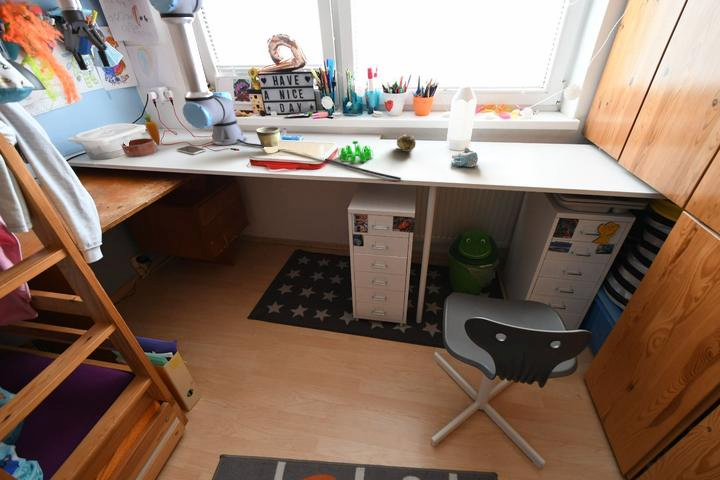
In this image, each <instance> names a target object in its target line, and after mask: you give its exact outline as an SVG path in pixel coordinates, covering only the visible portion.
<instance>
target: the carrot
mask: <svg viewBox="0 0 720 480" xmlns="http://www.w3.org/2000/svg"><path fill="white" fill-rule="evenodd" d="M145 114H146V115H144V116H141V118H142V119H144V120H146V122H145V123H144V127H145V126H146V127H145V129H146V131H147V133H148V135H149V138H151V139H153V140H154V142H155V145H156V146H159V145H160V142H161V137H160V135H161V134H160V130H159V127H158V123H157V122H156V121H154V120H152V116H151V114H149V113H148V112H146V113H145Z"/></svg>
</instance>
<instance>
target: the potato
mask: <svg viewBox="0 0 720 480" xmlns="http://www.w3.org/2000/svg"><path fill="white" fill-rule="evenodd" d="M416 145H417V144H416V139H415V137H414V136H413V135H411V134H403V135H401V136H400V137H398V138H397V140H396V146H397V147H398V148H399V149H400V150H402V151H403V152H410V151H412V150H414V149H415V148H416Z"/></svg>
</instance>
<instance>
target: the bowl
mask: <svg viewBox="0 0 720 480" xmlns="http://www.w3.org/2000/svg"><path fill="white" fill-rule="evenodd" d="M129 141H130V142H129V146H126V145H125V144H124V142H122V143H123V144H122V143H121V144H120V146H121V149H122V150H123V153H124V155H125V156H127V157H133V158H134V157H136V158H137V157H144V156H149V155H151V154H153V153H155V152H156V151H157V150H158V147H157V144H156V143H155V142H154V140H153V139H152V138H151V137H142V138H135V139H131V140H129Z"/></svg>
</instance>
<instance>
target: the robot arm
mask: <svg viewBox="0 0 720 480" xmlns="http://www.w3.org/2000/svg"><path fill="white" fill-rule="evenodd" d="M55 1H56V5H57V6H58V8H59V9H60V13H61V16H62V18H63V20H64V21H65V22H67V23H62V24H61V27H62V30H63V38H64V47H65V48H64V49H65V51H66V52H68V53H71V54H72V56H73V59H74V61H75V62H76V63H77V66H78V68H79V69H80V71H88V70H89V68H88V67H87V64H86V62H85V60H84V57H83V55H82V53H81V52H80V51H79V47H80V41H81V38H85V39H87V40H88V41H89V42H90V43H91V44H92V45H93V46H94V47H95V48H96V49H97V54H98V56H99V59H100V61H101V63H102V67H103V68H111V64H110V62H109V59H108V56H107V53H106V51H108V50H107V49H108V46H107V44H106V43H105V42H104V40H103V39H102V38H101V36H100V34H99V33H98V32H97V30H96V29H95V26H94V25H93V24H92V23H86V22H87V17H86V15H85V12H84V11H83V10H82V8H83V7H82V5H81V3H80V0H55ZM148 2H149V4H150V5H151V6H152V7H153V8H154V9H155V10H156V11H157V12H158V13H159V17H160V19H161V21H163V22H164V23H165V24H166V25H167V28H168V32H169V36H170V39H171V42H172V46H173V50H174V53H175V56H176V60H177V62H178V67H179V70H180V74H181V77H182V80H183V84H184V87H185V91H186V92H185V94H184V95H183V98H184V102H185V103H184V105H183V107H182V114H183V117H184V119H185V121H187V123H189V125H191V126H192V127H193V128H196V129H198V130H199V129H200V130H203V129H208V128H211V127H212V134H211V138H212V142H213V143H212V144H213V145H215V146H216V145H217V146H230V145H236V144H240V143H242V144H244V145H246V146H252V147H253V146H254V147H261V148H262V145H261V143H260V144H259V143H252V142H251V143H250V142H247V141H245V139H246V138H245V134H244V132H243V131H242V129H241V127H240V126H239V124H238V120H237V116H236V111H235V108H234V102H233V98H232V96H231V95H232V94H231V93H230V92H227V91H211V90H209V88H208V84H207V81H206V77H205V76H206V75H205V73H204V68H203V65H202V61H201V56H200V53H199V49H198V46H197V41H196V38H195V33H194V28H193V26H192V23H193V21H194V19H195V16H194V14H196V13H197V12H199V11H200V10H201V8H202V5H203V0H148ZM324 161H325V162H329V163H332V164H336V165H339V166H342V167H346V168H349V169H351V170H352V169H353V170H356V171H360V172H364V173H367V174H371V175H376V176H380V177H384V178H387V179H393V180H398V181H401V179H402V178H401V177H399V176H395V175H390V174H386V173H382V172H377V171H373V170H369V169H366V168H361V167H357V166H353V165H350V164H347V163H343V162H339V161H336V160H334V159H329V158H326V159H325V160H324Z"/></svg>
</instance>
